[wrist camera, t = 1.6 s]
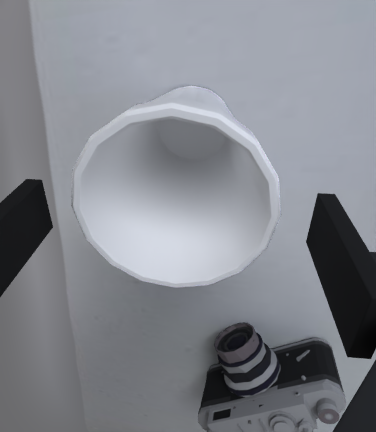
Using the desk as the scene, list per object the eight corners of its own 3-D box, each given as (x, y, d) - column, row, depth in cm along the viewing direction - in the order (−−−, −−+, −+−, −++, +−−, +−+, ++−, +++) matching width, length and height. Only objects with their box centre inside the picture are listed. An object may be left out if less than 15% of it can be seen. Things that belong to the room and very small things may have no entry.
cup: (161, 196, 31) (129, 306, 20) (107, 88, 26) (24, 153, 15) (271, 160, 28) (304, 264, 17) (232, 32, 23) (244, 62, 12)
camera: (307, 293, 38) (320, 355, 28) (336, 355, 39) (358, 433, 30) (184, 332, 43) (162, 396, 33) (215, 386, 44) (201, 461, 35)
